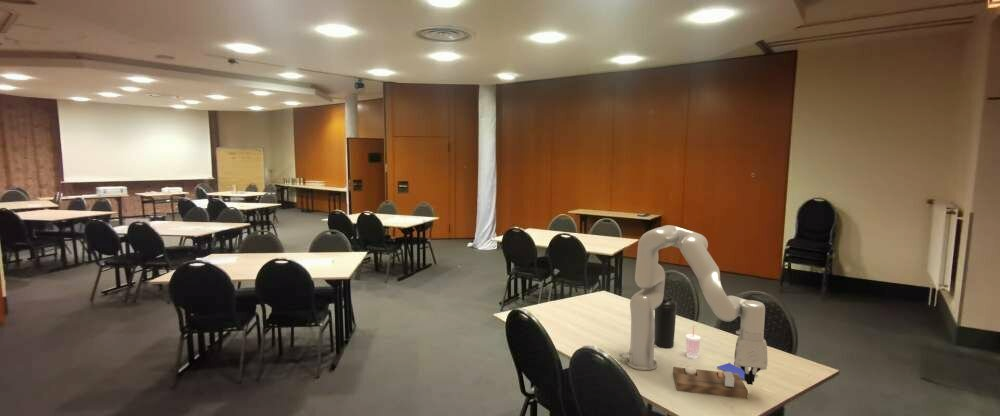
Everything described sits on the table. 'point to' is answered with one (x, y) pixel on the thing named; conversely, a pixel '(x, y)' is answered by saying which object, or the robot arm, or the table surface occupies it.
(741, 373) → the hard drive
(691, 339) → the beverage cup
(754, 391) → the table surface
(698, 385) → the panel
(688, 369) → the cream button
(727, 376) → the grey block
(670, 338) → the water bottle
